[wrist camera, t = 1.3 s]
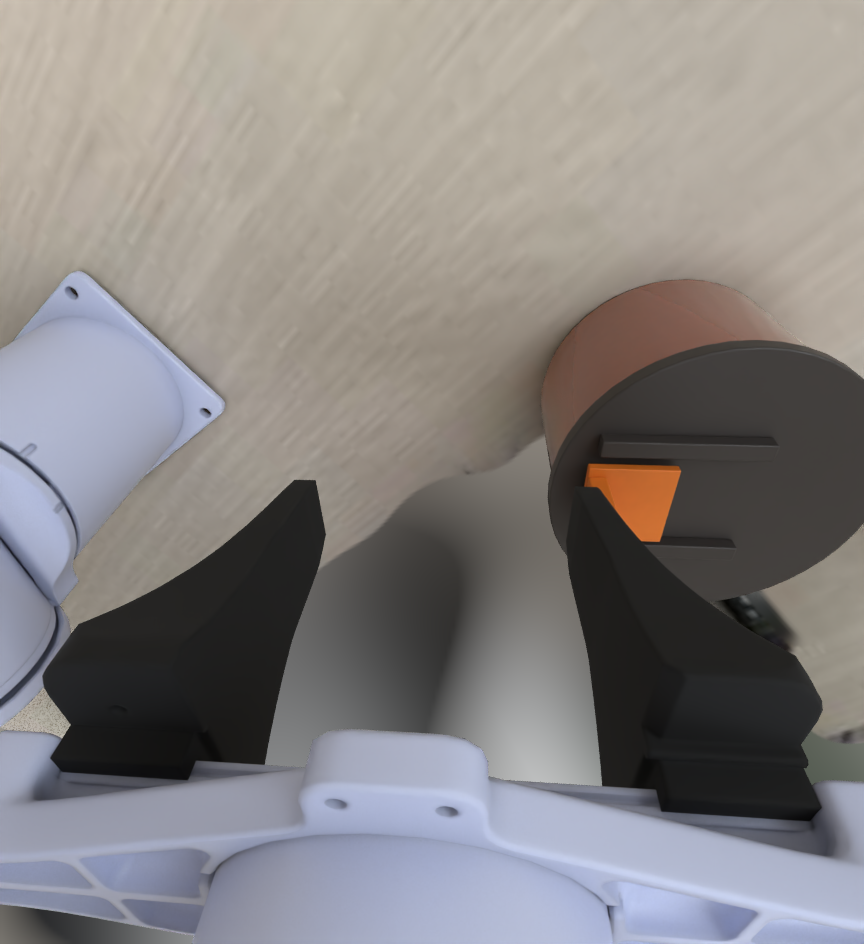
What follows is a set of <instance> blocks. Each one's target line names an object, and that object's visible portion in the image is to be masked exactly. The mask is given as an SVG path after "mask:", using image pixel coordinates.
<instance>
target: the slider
mask: <svg viewBox="0 0 864 944" xmlns="http://www.w3.org/2000/svg"><path fill="white" fill-rule="evenodd" d="M680 473H681V470H680V468H679V466H660V465H623V464H588V468H587V473H586V479H585V484H584V487H598V488H599V489H600V490H601V491H602V493H603V494H604V495H605V497H606V498H607V499H608V501H609V502H610V503H611V505H612V506H613V507H614V509H615V510H616V511H617V513H618V514H619V515H620V516H621V518H622V519H623V520H624V521H625V523H626V524H627V525H628V526H629V528H630V529H631V530H632V531H633V532H634V533H635V535H636V536H637V537H638V538H639V539H640V540H641V541H650V542H660V539H661V536H662V533H663V529H664V526H665V523H666V519H667V516H668V513H669V510H670V506H671V503H672V500H673V496H674V493H675V490H676V487H677V483H678V480H679V477H680Z"/></svg>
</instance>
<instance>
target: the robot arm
mask: <svg viewBox="0 0 864 944" xmlns="http://www.w3.org/2000/svg"><path fill="white" fill-rule="evenodd" d="M70 287H72V288H74V289H75V290H76V292H77V294H78V296H76V295H75V294H73V292H72V291H71V288H70ZM203 408H206V409H208V410H209V411H210V412H211V414H210V413H207V412H205V411H204V409H203ZM224 409H225V403H224V401H223V400H222V398H221V397H220V396H219V395H217V394H216V393H215V392H214V391H213V390H212V389H211V388H210V387H209V386H208V385H207V384H206V383H204V382H203V381H202V380H201V379H200V378H199V377H198V376H197V375H196V374H195V373H194V372H193V371H191V370H190V369H189V368H188V367H187V366H186V365H185V364H184V363H183V362H182V361H181V360H180V359H178V358H177V357H176V356H175V355H174V354H173V353H172V352H171V351H170V350H169V349H168V348H167V347H165V346H164V345H163V344H162V343H161V342H160V341H159V340H158V339H157V338H156V337H155V336H154V335H152V334H151V333H150V332H149V331H148V330H147V329H146V328H145V327H144V326H143V325H142V324H141V323H139V322H138V321H137V320H136V319H135V318H134V317H133V316H132V315H131V314H130V313H129V312H128V311H126V310H125V309H124V308H123V307H122V306H121V305H120V304H119V303H118V302H117V301H116V300H115V299H113V298H112V297H111V296H110V295H109V294H108V293H107V292H106V291H105V290H104V289H103V288H102V287H100V286H99V285H98V284H97V283H96V282H95V281H94V280H93V279H92V278H91V277H90V276H88V275H87V274H86V273H84V272H81V271H74V272H72V273H70V274H69V275H67V276H66V278H65V279H64V280H63V281H62V282H61V284H60V285H59V286H58V287H57V288H56V290H55V291H54V292H53V293H52V294H51V296H50V297H49V298H48V299H47V300H46V302H45V303H44V304H43V305H42V306H41V308H40V309H39V310H38V311H37V312H36V314H35V315H34V316H33V317H32V318H31V320H30V321H29V322H28V323H27V324H26V326H25V327H24V328H23V329H22V330H21V332H20V333H19V334H18V335H17V336H16V338H15V339H14V340H13V341H12V342H11V343H10V344H8V345H6V346H5V347H3V348H1V349H0V727H1V726H3V725H4V724H6V723H7V722H8V721H9V720H11V719H12V718H13V717H14V716H16V715H17V714H18V713H19V712H20V711H21V710H22V709H23V708H25V707H26V706H27V705H28V704H29V703H30V702H31V701H32V700H33V698H34V697H35V696H36V695H37V694H38V693H39V692H40V691H41V690H42V688H43V687H44V688H45V690H46V691H47V693H48V695H49V697H50V698H51V699H52V700H53V702H54V703H55V704H56V706H57V707H58V708H59V710H60V711H61V712H62V713H63V715H64V716H65V717H66V719H67V720H68V721H69V723H70V724H71V726H70V727H69V729H68V730H67V732H66V734H65V735H64V737H63V738H60V737H58V736H56V735H54V734H50V733H45V732H28V731H12V730H5V731H1V732H0V904H4V905H14V906H23V907H30V908H37V909H45V910H53V911H59V912H65V913H71V914H77V915H82V916H89V917H94V918H100V919H105V920H110V921H116V922H121V923H126V924H132V925H137V926H143V927H148V928H153V929H159V930H164V931H169V932H175V933H180V934H186V935H191V936H194V939H193V942H192V944H864V782H855V781H838V780H828V781H821V782H817V783H814V784H813V785H811V783H810V781H809V779H808V777H807V775H806V773H805V770H804V768H807V766H808V759H807V757H806V755H805V753H804V751H803V749H802V746H801V744H802V742H803V741H804V739H805V738H806V737H807V735H808V734H809V732H810V731H811V730H812V728H813V727H814V725H815V724H816V723H817V721H818V719H819V717H820V715H821V713H822V710H823V709H822V700H821V698H820V696H819V694H818V693H817V691H816V689H815V687H814V685H813V683H812V681H811V680H810V678H809V676H808V674H807V673H806V671H805V670H804V668H803V667H802V665H801V664H800V662H799V661H798V659H797V657H796V656H795V655H793V654H791V653H789V652H787V651H786V650H784V649H782V648H780V647H778V646H777V645H775V644H773V643H771V642H769V641H767V640H766V639H764V638H762V637H760V636H758V635H757V634H755V633H753V632H752V631H750V630H749V629H747V628H745V627H744V626H742V625H741V624H739V623H737V622H736V621H734V620H733V619H731V618H730V617H728V616H727V615H725V614H724V613H722V612H721V611H719V610H718V609H717V608H715V607H714V606H713V605H711V604H710V603H709V602H707V601H706V600H705V599H703V598H702V597H700V596H699V595H698V594H697V593H695V592H694V591H693V590H692V589H690V588H689V587H688V586H687V585H685V584H684V583H683V582H682V581H681V580H680V579H679V578H677V577H676V576H675V575H674V574H673V573H672V572H671V571H669V570H668V569H667V568H666V567H665V566H664V565H663V564H662V563H661V562H660V561H659V560H658V559H657V558H656V557H655V556H654V555H653V554H652V553H651V551H650V550H649V549H648V548H647V547H646V546H645V545H644V544H643V543H642V542H641V540H640V539H639V538H638V537H637V536H636V535H635V533H634V532H633V531H632V530H631V529H630V528H629V526H628V525H627V524H626V523H625V521H624V520H623V519H622V518H621V516H620V515H619V514H618V513H617V511H616V510H615V509H614V507H613V506H612V505H611V503H610V502H609V501H608V499H607V498H606V497H605V495H604V494H603V493H602V491H601V490H600V489H599V488H598V487H578V486H575V488H574V495H573V501H572V507H571V514H570V520H569V526H568V532H567V539H566V547H567V558H568V567H569V575H570V579H571V584H572V588H573V592H574V597H575V601H576V605H577V609H578V613H579V617H580V621H581V626H582V630H583V634H584V639H585V643H586V648H587V653H588V658H589V665H590V673H591V681H592V689H593V697H594V706H595V715H596V724H597V733H598V743H599V752H600V753H599V754H600V764H601V776H602V786H590V785H589V786H588V785H574V784H558V783H542V782H526V781H510V780H501V779H498V778H494V777H490V776H488V761H487V758H486V756H485V754H484V752H483V750H482V749H481V748H479V747H478V746H477V745H475V744H473V743H471V742H470V741H468V740H466V739H465V738H460V737H454V736H449V735H444V734H427V733H409V732H392V731H375V730H358V729H343V730H333V731H328V732H327V733H325V734H323V735H321V736H319V737H318V738H316V739H314V740H313V741H312V745H311V749H310V753H309V757H308V761H307V765H306V768H304V767H287V766H273V765H265V759H266V754H267V748H268V743H269V737H270V733H271V728H272V723H273V718H274V713H275V709H276V704H277V700H278V695H279V691H280V686H281V682H282V677H283V673H284V670H285V665H286V662H287V657H288V653H289V649H290V646H291V642H292V639H293V636H294V633H295V630H296V627H297V624H298V622H299V619H300V616H301V614H302V611H303V608H304V606H305V603H306V600H307V598H308V595H309V592H310V589H311V587H312V584H313V581H314V578H315V576H316V573H317V570H318V567H319V564H320V559H321V555H322V550H323V546H324V541H325V536H326V533H325V528H324V522H323V517H322V512H321V506H320V501H319V496H318V490H317V485H316V480H294V481H293V482H292V483H291V484H290V485H289V486H288V487H287V488H285V489H284V490H283V491H282V492H281V493H280V494H279V495H278V496H277V497H276V498H275V499H274V500H273V501H272V502H271V503H270V504H269V505H268V506H267V507H266V508H265V509H264V510H263V511H262V512H261V513H259V514H258V515H257V516H256V517H255V518H254V519H253V520H252V521H251V522H250V523H249V524H248V525H246V526H245V527H244V528H243V529H242V530H241V531H239V532H238V533H237V534H236V535H235V536H233V537H232V538H231V539H230V540H229V541H228V542H226V543H225V544H224V545H223V546H221V547H220V548H219V549H217V550H216V551H215V552H213V553H212V554H211V555H209V556H208V557H206V558H205V559H204V560H202V561H201V562H199V563H198V564H196V565H195V566H193V567H192V568H190V569H189V570H187V571H185V572H184V573H182V574H180V575H179V576H177V577H175V578H174V579H172V580H170V581H169V582H167V583H166V584H164V585H162V586H160V587H159V588H157V589H155V590H153V591H151V592H149V593H147V594H145V595H144V596H141V597H139V598H137V599H135V600H133V601H131V602H129V603H127V604H125V605H123V606H121V607H119V608H116V609H114V610H112V611H109V612H107V613H105V614H102V615H100V616H98V617H95V618H93V619H90V620H88V621H86V622H83V623H80V624H78V626H77V627H76V628H75V629H74V631H73V632H72V633H71V635H70V632H71V629H70V624H69V619H68V617H67V616H66V614H65V612H64V611H63V609H62V608H61V607H60V604H61V603H62V602H63V601H64V599H65V598H66V597H67V596H68V594H69V593H70V592H71V590H72V589H73V588H74V587H75V585H76V584H77V583H78V582H79V580H78V578H77V576H76V575H75V573H74V570H73V560H74V559H75V558H76V556H77V555H78V554H79V553H80V552H81V551H82V549H83V548H84V547H85V546H86V545H87V543H88V542H89V541H90V540H91V539H92V537H93V536H94V535H95V534H96V533H97V531H98V530H99V529H100V528H101V527H102V526H103V524H104V523H105V522H106V521H107V520H108V518H109V517H110V516H111V515H112V514H113V512H114V511H115V510H116V509H117V508H118V506H119V505H120V504H121V503H122V502H123V501H124V499H125V498H126V497H127V496H128V495H129V493H130V492H131V491H132V490H133V489H134V487H135V486H136V485H137V484H138V483H139V481H140V480H141V479H142V478H143V477H144V476H145V475H147V474H148V473H149V472H150V471H152V470H153V469H154V468H155V467H157V466H158V465H159V464H160V463H161V462H163V461H164V460H165V459H166V458H168V457H169V456H170V455H171V454H173V453H174V452H175V451H176V450H177V449H179V448H180V447H181V446H182V445H184V444H185V443H186V442H187V441H189V440H190V439H191V438H192V437H194V436H195V435H196V434H197V433H198V432H200V431H201V430H202V429H203V428H205V427H206V426H207V425H208V424H210V423H211V422H212V421H213V420H214V419H216V418H217V417H218V416H219V415H221V413H222V412H223V411H224Z"/></svg>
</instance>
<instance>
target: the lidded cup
mask: <svg viewBox="0 0 864 944" xmlns="http://www.w3.org/2000/svg"><path fill="white" fill-rule="evenodd" d="M541 412H542V420H543V426H544V432H545V438H546V443H547V450H548V456H549V461H550V467H551V474H550V479H549V484H548V504H549V512H550V519H551V524H552V527H553V530H554V534H555V536H556V538H557V540H558V542H559V544H560V546H561V548H562V550H563V551H564V552H565V554H566V555H567V547H566V539H567V532H568V526H569V520H570V514H571V507H572V501H573V495H574V488H575V486H578V487H584V484H585V479H586V473H587V468H588V464H623V465H660V466H679V468H680V470H681V473H680V477H679V480H678V483H677V487H676V490H675V493H674V496H673V500H672V503H671V506H670V510H669V513H668V516H667V519H666V523H665V526H664V529H663V533H662V536H661V539H660V542H650V541H641V542H642V543H643V544H644V545H645V546H646V547H647V548H648V549H649V550H650V551H651V553H652V554H653V555H654V556H655V557H656V558H657V559H658V560H659V561H660V562H661V563H662V564H663V565H664V566H665V567H666V568H667V569H668V570H669V571H671V572H672V573H673V574H674V575H675V576H676V577H677V578H679V579H680V580H681V581H682V582H683V583H684V584H685V585H687V586H688V587H689V588H690V589H692V590H693V591H694V592H695V593H697V594H698V595H699V596H700V597H702V598H703V599H705V600H706V601H707V602H711V601H717V600H723V599H729V598H734V597H738V596H742V595H746V594H750V593H753V592H756V591H759V590H762V589H766V588H769V587H771V586H774V585H776V584H778V583H781V582H783V581H786V580H788V579H790V578H792V577H794V576H796V575H798V574H800V573H802V572H804V571H805V570H807V569H809V568H810V567H812V566H814V565H815V564H817V563H818V562H820V561H822V560H823V559H825V558H826V557H827V556H829V555H830V554H831V553H832V552H834V551H835V550H836V549H838V548H839V547H840V546H841V545H842V544H844V543H845V542H846V541H847V540H848V539H849V538H850V537H851V536H852V535H853V534H854V533H855V532H856V531H857V530H858V529H859V528H860V527H861V525H862V524H863V523H864V379H863V378H861V377H860V376H859V375H858V374H857V373H855V372H854V371H853V370H852V369H850V368H849V367H848V366H847V365H846V364H844V363H842V362H840V361H838V360H837V359H835V358H833V357H831V356H829V355H828V354H825V353H823V352H820V351H817V350H814V349H812V348H809V347H806V346H805V345H804V344H803V343H802V342H800V341H799V340H798V339H797V338H796V337H795V336H793V335H792V334H791V333H790V332H789V331H788V330H786V329H785V328H784V327H783V326H782V325H781V324H779V323H778V322H777V321H776V320H775V319H774V318H772V317H771V316H770V315H769V314H768V313H766V312H765V311H764V310H763V309H762V308H761V307H759V306H758V305H757V304H756V303H755V302H753V301H752V300H751V299H750V298H748V297H747V296H745V295H743V294H741V293H740V292H738V291H736V290H734V289H731V288H729V287H726V286H723V285H721V284H717V283H712V282H707V281H701V280H669V281H663V282H658V283H652V284H648V285H645V286H642V287H638V288H635V289H632V290H630V291H628V292H625V293H623V294H621V295H619V296H616V297H615V298H613V299H611V300H609V301H608V302H606V303H604V304H602V305H601V306H599V307H598V308H597V309H595V310H594V311H593V312H591V313H590V314H589V315H587V316H586V317H585V318H584V319H583V320H582V321H581V322H580V323H578V324H577V325H576V326H575V327H574V328H573V329H572V331H571V332H570V333H569V334H568V335H567V337H566V338H565V339H564V340H563V342H562V343H561V345H560V346H559V348H558V349H557V351H556V352H555V354H554V356H553V358H552V360H551V362H550V364H549V366H548V369H547V372H546V375H545V378H544V381H543V387H542V392H541Z"/></svg>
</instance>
